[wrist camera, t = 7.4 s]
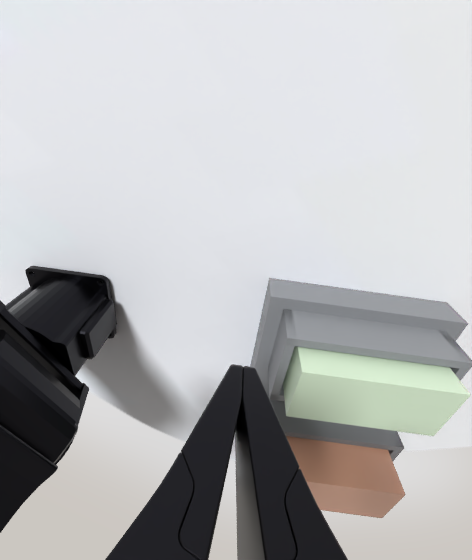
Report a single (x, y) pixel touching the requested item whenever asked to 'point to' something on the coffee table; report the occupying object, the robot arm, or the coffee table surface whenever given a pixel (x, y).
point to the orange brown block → (348, 476)
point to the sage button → (371, 391)
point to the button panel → (350, 344)
